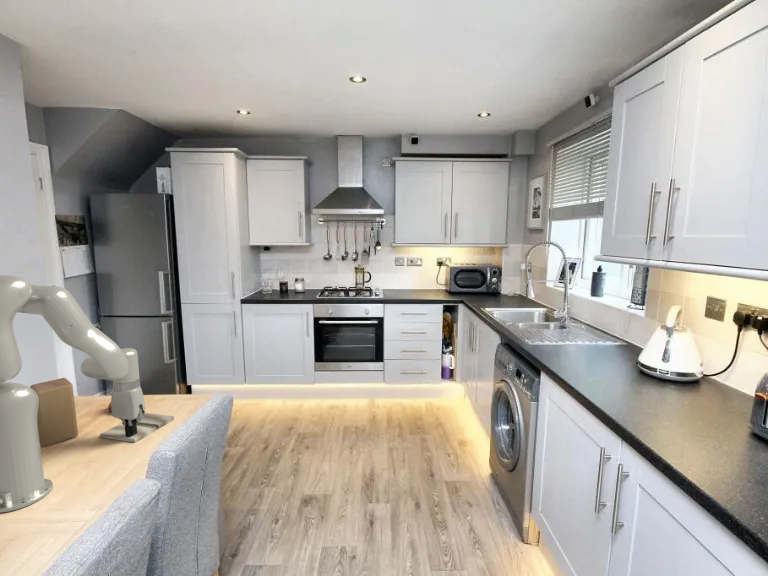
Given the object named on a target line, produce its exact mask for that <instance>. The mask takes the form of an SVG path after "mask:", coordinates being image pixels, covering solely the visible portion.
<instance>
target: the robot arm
mask: <svg viewBox="0 0 768 576" xmlns="http://www.w3.org/2000/svg"><path fill="white" fill-rule="evenodd" d="M18 313H21V314H29V315H30V314H31V315H40V316H41V317H42V318H43V319H44V320H45V322H46V323H47V324H48V326H49V327H50V328H51V329H52V330H53V331H54V333H55V334H56V336H57V337H58V339H60V341H61V342H62V343H65V345H67V346H70V347H72V348H74V349H76V350H79V351H81V352H83V353H85V354H86V355H88V357H86V358H85V359H84V360H83V361H81V364H80V371H81V373H82V374H83V375H84V376H85V377H88V378H91V379H98V380H107V381H112V384H113V389H112V392H111V397H110V398H111V399H110V402H111V411H112V414H111V416H112V417H113V418H115V419H119V420H121V423H123V425H124V426H125V435H126V437H131V436H133V435H135V434H137V423H138V421H141V420H143V419H144V417H143V414H145V413H146V405H145V398H144V393H143V389H142V387H141V380H140V369H139V358H138V357H139V355H138V354H139V353H138V351H137V350H136V349H135V348H132V347H125V348H120V347H119V345H118V344H117V343H116V342H115V341H114V340H112V339H111V338H110V337H109V336H108V335H106V334H105V333H104V332H103V331H101V330H100V329H98V328H97V327H96V326H94V324H93V323H92V322H91V321H90V319H89V317H88V316H87V315H86V314H85V312H84V310H83V309H82V307H81V306H80V305H79V303H78V302H77V300H76V299H75V298H74V296H73V295H72V294H71V293H70V291H68V289H65V288H64V287H61V286H55V285H39V284H38V285H36V284H31V283H30V282H29V281H28V280H27V279H25V278H24V277H20V276H16V275H7V274H3V275H0V513H7V512H8V513H9V512H12V511H17V510H20V509H22V508H26V507H28V506H30V505H33V504H35V503H36V502H38V501H40V500H41V499H43V498H45V497H46V496H47V495H48V494H49V493H50V492H51V491H52V489H53V487H54V485H53V484H54V483H53V481H52V480H51V479H48V478H45V473H44V467H43V466H44V465H43V459H42V451H41V450H42V449H41V445H40V442H39V434H38V425H37V414H38V406H39V399H38V395H37V393H36V392H35V391H34V390H33V389H32V388H30V386H28V385H25V384H22V383H18V382H17V383H16V382H12V381H10V380H13V379H14V378H16V377H17V376H18V375H20V374H19V373H20V372H21V370H22V367H23V361H22V357H21V354H20V353H21V352H20V350H19V347H18V343H17V340H16V339H17V338H16V336H15V332H14V319H15V317H16V315H17V314H18Z"/></svg>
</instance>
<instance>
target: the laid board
mask: <svg viewBox="0 0 768 576" xmlns="http://www.w3.org/2000/svg"><path fill="white" fill-rule="evenodd" d="M143 417H144V419H143V420H141V421H138V423H137V424H140V425H147V426H154V427H156V431H157V430H160V429H161V428H163V427H164V426H166V425H168V424H170V423H171V422H173V421H174V420H175V419H174V416H173V415H167V414H157V413H152V412H145V414H143Z"/></svg>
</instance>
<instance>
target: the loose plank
mask: <svg viewBox="0 0 768 576" xmlns="http://www.w3.org/2000/svg"><path fill="white" fill-rule="evenodd" d="M155 431H157V430H156V427H154V426H147V425H140V424H137V434H135V435H133V436H131V437H126V435H125V426H124V425H123V422H121V423H119V424H118V425H116V426H114V427H111V428H110V429H108V430H106V431H103V432H101V433H99V436H100V438H103V439H110V440H117V441H124V442H130V443H137V442H138V441H140V440H142V439H144V438H145V437H147V436H149V435H150V434H152V433H154V432H155Z"/></svg>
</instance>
